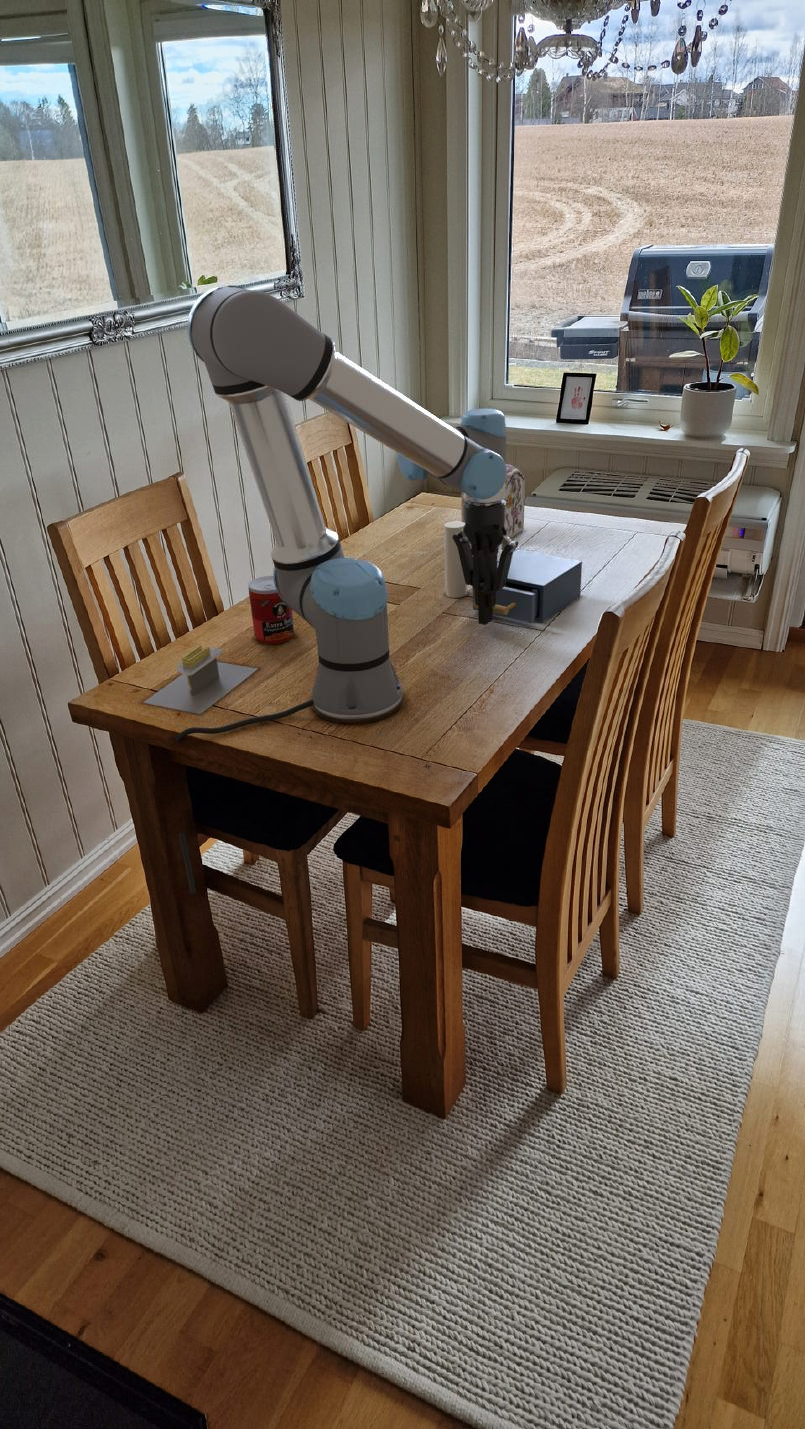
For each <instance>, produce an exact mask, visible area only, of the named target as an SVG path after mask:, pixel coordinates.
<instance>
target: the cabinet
mask: <svg viewBox="0 0 805 1429" xmlns="http://www.w3.org/2000/svg"><path fill="white" fill-rule="evenodd" d="M498 564H499V560H497V568H498ZM582 569H583V561H582V560H577V559H573V558H566V557H561V556H556V555H551V554H546V553H541V552H535V551H529V550H524V549H518V550H516V551H514V552H513V556H512V560H511V564H510V569H509V573H508V577H507V581H506V582H510V583H514V584H519V585H524V586H528V587H533V588H538V589H540V607H539V614H538V615H537V616H535V621H534V622H538V623H544V622H546V621H548V620H549V619H550V618H552V617H553V616H554V615H556V614H558V613H559V612H560V611H562V610H563V609H565V608H566V607H567V606H569V605H570V604H572V603H574V602H575V601H576V600H579V598H581V590H582V571H583V570H582Z"/></svg>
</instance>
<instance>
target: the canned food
mask: <svg viewBox="0 0 805 1429" xmlns="http://www.w3.org/2000/svg"><path fill="white" fill-rule="evenodd" d="M248 597H249V605H250V611H251V612H250V613H251V618H252V625H253V634H254V637H255V639H256V641H258V642H259V643H262V644H265V645H279V644H282V643H283V644H284V643H286V642H288V641H289V640H291V639H293V637H294V632H295V627H294V617H293V610H292V609H290V608H289V607H288V606H287V605H286V604H285V603H284V602H283V601H282V599H281V598H280V596H279V594H278V592H277V590H276V588H275V585H274V579H273V575H265V576H259V577H257V578H254V579H252V580H251V581H249V583H248Z"/></svg>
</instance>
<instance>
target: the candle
mask: <svg viewBox="0 0 805 1429" xmlns="http://www.w3.org/2000/svg"><path fill="white" fill-rule="evenodd" d="M464 525H465V523H464V522H462V521H459V520H452V521H447V522H445V523H444V524H443V541H444V543H443V546H444V582H445V584H444V586H445V590H444V591H445V596H446V597H448V598H453V599H457V598H458V599H459V598H464V597H466V596H467V594H468V591H467V590H468V588H467V587H468V585H466V583H465V579H464V575H463V570H462V566H461V561H460V557H459V552H458V548H457V546H456V544H455V542H454V540H453V537H452V536H453V535H454V534H456V533H458V532H460V531H463V527H464Z"/></svg>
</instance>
